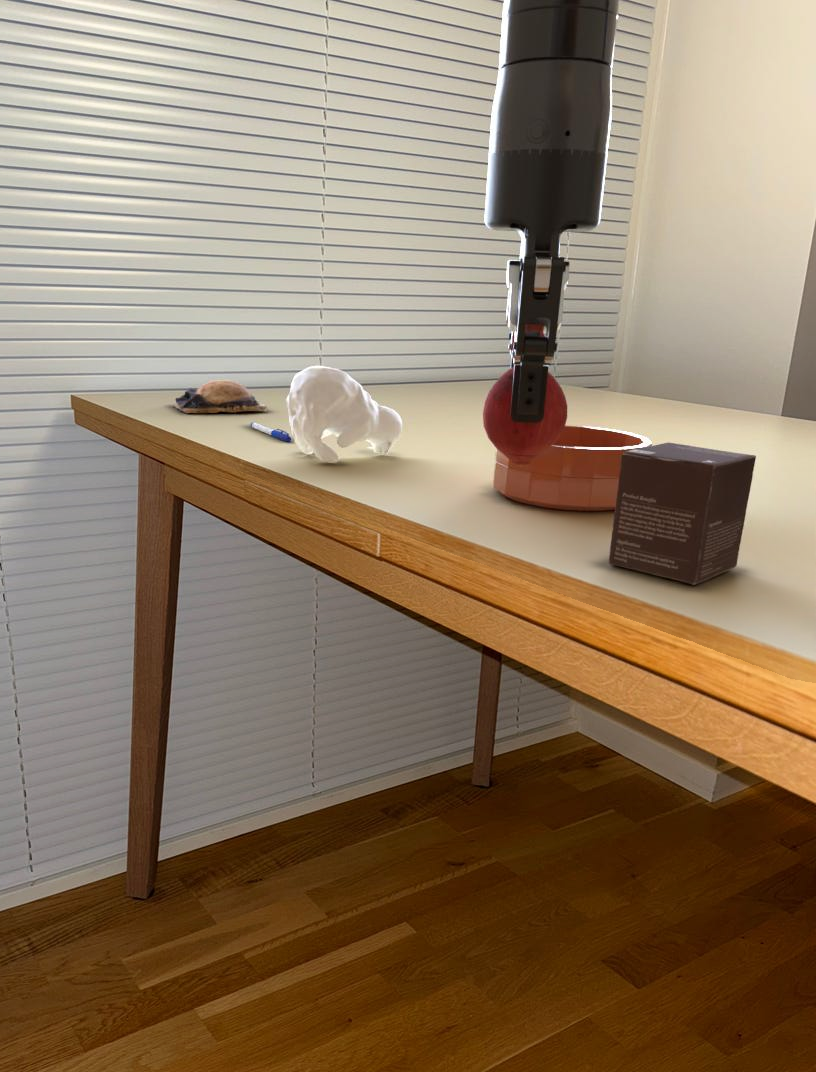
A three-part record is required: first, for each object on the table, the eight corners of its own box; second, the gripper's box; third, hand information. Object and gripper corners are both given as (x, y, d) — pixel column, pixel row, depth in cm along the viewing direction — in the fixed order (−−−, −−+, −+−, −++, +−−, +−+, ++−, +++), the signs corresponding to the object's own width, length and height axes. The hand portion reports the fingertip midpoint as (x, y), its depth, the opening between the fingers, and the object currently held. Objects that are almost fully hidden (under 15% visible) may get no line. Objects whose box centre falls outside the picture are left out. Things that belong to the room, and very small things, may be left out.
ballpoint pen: (293, 442, 101) (294, 433, 101) (286, 443, 101) (286, 433, 101) (254, 427, 110) (254, 418, 110) (246, 427, 110) (246, 418, 109)
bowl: (630, 486, 86) (638, 429, 84) (652, 518, 74) (663, 453, 72) (491, 477, 87) (497, 421, 85) (493, 507, 76) (499, 443, 74)
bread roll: (250, 405, 128) (250, 376, 127) (269, 413, 120) (269, 383, 119) (170, 405, 124) (170, 375, 123) (185, 414, 117) (184, 383, 116)
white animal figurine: (283, 360, 91) (389, 371, 97) (274, 451, 94) (378, 456, 99) (314, 367, 86) (425, 378, 92) (304, 463, 88) (412, 467, 94)
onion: (518, 476, 66) (529, 354, 63) (463, 462, 70) (470, 348, 67) (578, 469, 69) (591, 352, 66) (521, 456, 73) (531, 346, 70)
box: (738, 570, 61) (760, 455, 59) (694, 588, 58) (715, 466, 55) (651, 549, 66) (668, 440, 63) (604, 565, 62) (620, 450, 59)
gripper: (622, 136, 55) (589, 433, 61) (594, 163, 68) (569, 405, 74) (490, 135, 56) (469, 428, 62) (488, 162, 69) (471, 401, 75)
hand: (524, 414), depth 68 cm, fingers closed on onion, 6 cm apart
